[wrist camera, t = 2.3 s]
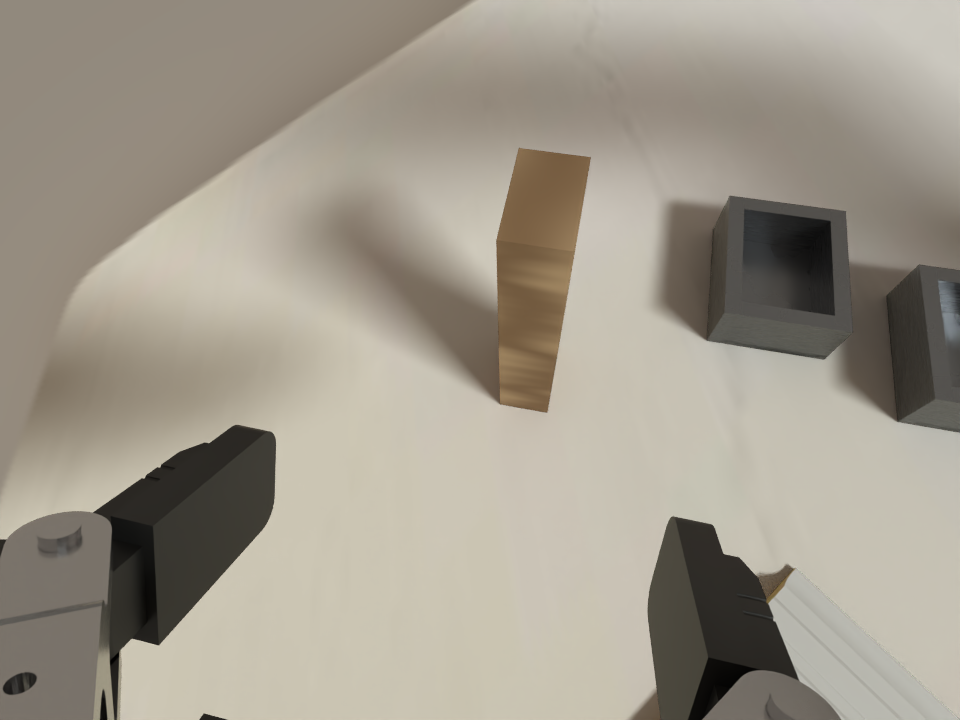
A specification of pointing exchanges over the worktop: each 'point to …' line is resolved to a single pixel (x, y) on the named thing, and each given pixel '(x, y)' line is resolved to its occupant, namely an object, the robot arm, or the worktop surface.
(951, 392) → the endcap
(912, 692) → the baseboard
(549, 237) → the slat
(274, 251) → the worktop surface
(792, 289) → the endcap
